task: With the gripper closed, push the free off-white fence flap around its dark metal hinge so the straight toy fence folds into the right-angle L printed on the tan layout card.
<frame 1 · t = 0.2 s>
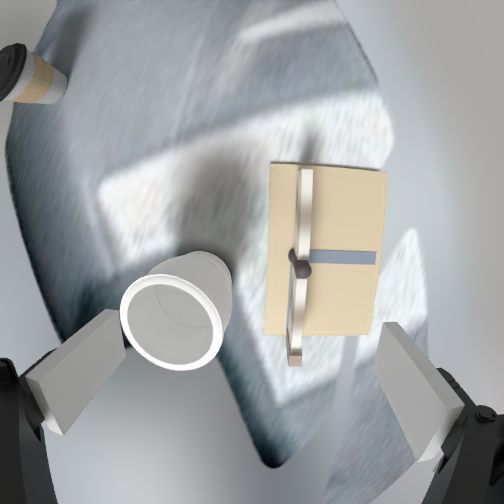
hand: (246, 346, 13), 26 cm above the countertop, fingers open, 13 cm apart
jar: (202, 279, 41), on the countertop
fence flap: (302, 221, 34), point 4 cm above the countertop, hinge at 0.0°
fence fixed: (297, 305, 36), on the layout card
layout card: (297, 255, 39), on the countertop
coffee cup: (56, 89, 35), on the countertop
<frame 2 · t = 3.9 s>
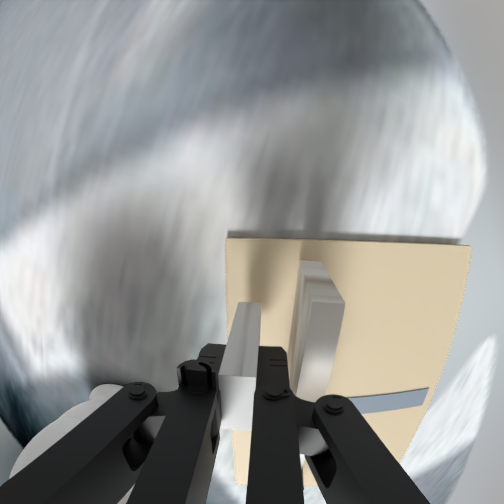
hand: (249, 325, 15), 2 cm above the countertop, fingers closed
jar: (133, 417, 21), on the countertop
fence flap: (300, 389, 13), point 4 cm above the countertop, hinge at 3.6°, touching gripper
layout card: (286, 404, 19), on the countertop
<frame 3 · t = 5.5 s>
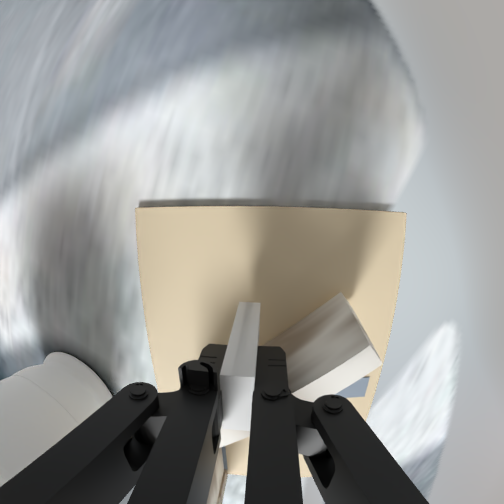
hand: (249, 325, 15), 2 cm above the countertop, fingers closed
jar: (80, 387, 21), on the countertop
fence flap: (261, 388, 14), point 4 cm above the countertop, hinge at 50.9°, touching gripper
fence fixed: (204, 466, 16), on the layout card
layout card: (208, 380, 19), on the countertop
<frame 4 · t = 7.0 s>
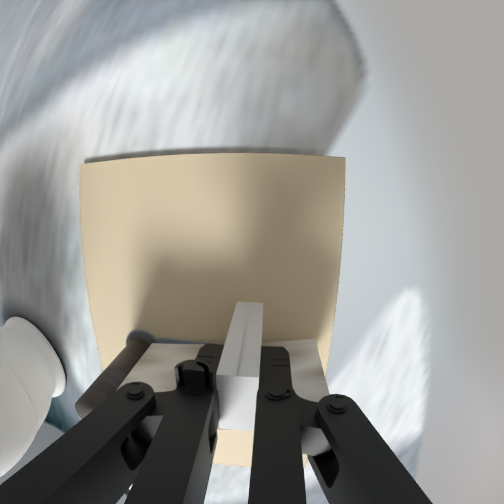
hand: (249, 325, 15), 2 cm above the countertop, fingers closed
jar: (35, 355, 20), on the countertop
fence flap: (203, 385, 13), point 4 cm above the countertop, hinge at 83.8°, touching gripper
layout card: (145, 344, 18), on the countertop
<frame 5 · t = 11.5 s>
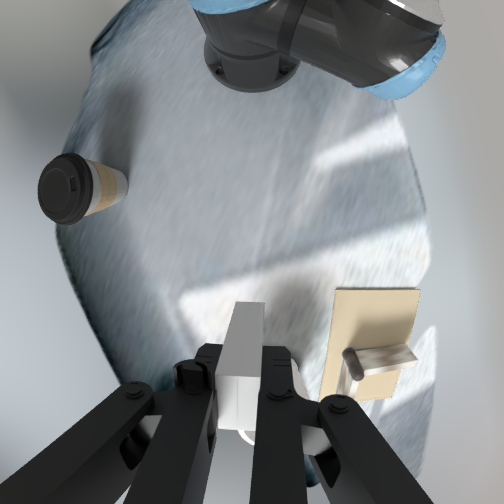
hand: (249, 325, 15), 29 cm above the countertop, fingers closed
jar: (274, 370, 49), on the countertop
fence flap: (381, 360, 43), point 4 cm above the countertop, hinge at 83.9°
fence fixed: (347, 390, 45), on the layout card
layout card: (348, 352, 47), on the countertop
coffee cup: (113, 187, 44), on the countertop
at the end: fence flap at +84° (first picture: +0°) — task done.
